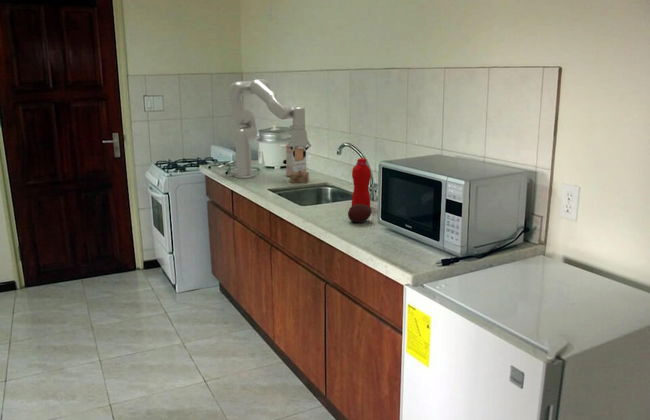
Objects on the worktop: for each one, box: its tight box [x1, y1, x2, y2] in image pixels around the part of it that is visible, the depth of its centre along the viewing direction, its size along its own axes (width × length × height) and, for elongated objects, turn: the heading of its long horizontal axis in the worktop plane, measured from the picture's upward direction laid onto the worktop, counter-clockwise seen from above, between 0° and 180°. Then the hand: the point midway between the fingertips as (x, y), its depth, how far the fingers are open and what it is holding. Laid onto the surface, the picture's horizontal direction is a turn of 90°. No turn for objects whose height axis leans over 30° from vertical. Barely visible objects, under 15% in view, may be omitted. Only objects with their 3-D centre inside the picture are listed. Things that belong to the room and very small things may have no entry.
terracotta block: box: [295, 148, 304, 159], centre depth 324 cm, size 5×5×6 cm
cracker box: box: [285, 143, 307, 177], centre depth 346 cm, size 14×6×21 cm, turn 143°
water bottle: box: [348, 157, 372, 209], centre depth 263 cm, size 9×11×25 cm
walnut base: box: [289, 171, 310, 184], centre depth 328 cm, size 10×10×5 cm
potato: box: [347, 204, 372, 224], centre depth 241 cm, size 12×11×8 cm
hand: (299, 157), depth 325 cm, fingers closed on terracotta block, 5 cm apart
